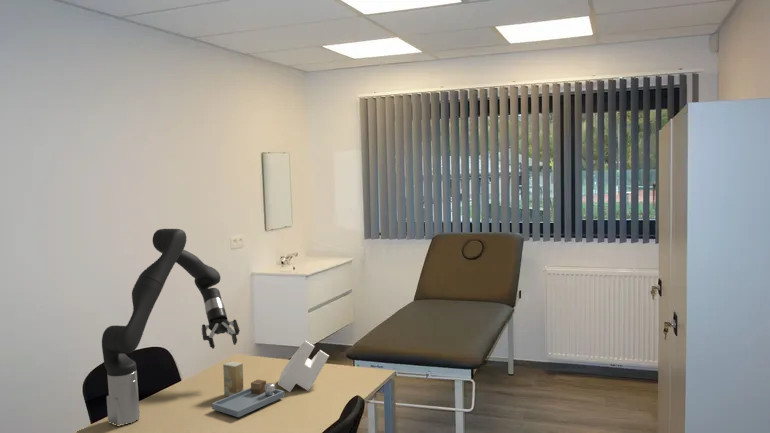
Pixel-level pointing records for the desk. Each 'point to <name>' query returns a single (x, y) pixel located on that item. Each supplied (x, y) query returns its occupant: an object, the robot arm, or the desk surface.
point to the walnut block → (258, 387)
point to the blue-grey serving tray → (245, 402)
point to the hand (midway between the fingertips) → (224, 345)
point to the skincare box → (233, 378)
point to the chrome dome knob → (269, 389)
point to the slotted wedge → (302, 368)
